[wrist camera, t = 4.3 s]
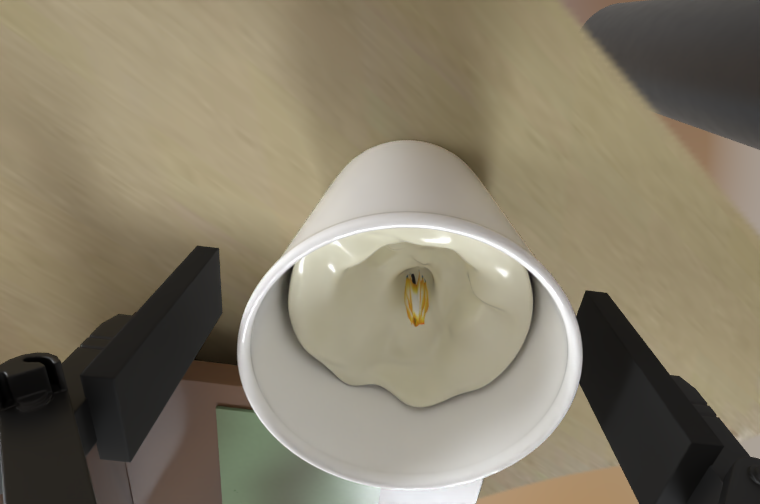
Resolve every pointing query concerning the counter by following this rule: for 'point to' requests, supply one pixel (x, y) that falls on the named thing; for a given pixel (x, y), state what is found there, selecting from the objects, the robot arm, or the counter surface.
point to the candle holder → (409, 329)
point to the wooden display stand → (232, 458)
